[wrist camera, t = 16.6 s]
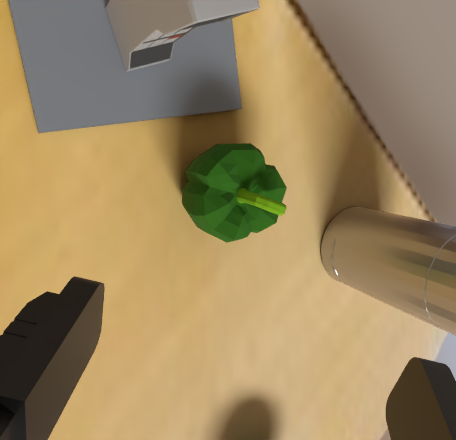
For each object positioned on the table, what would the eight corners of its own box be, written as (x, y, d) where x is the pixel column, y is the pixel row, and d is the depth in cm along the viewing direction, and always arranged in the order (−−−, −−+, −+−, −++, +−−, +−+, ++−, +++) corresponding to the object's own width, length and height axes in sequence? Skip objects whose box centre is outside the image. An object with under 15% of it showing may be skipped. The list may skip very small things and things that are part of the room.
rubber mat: (220, -53, 37) (223, -57, 36) (237, 109, 40) (241, 108, 40) (-6, -64, 30) (-7, -69, 29) (38, 133, 34) (38, 132, 33)
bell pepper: (149, 190, 38) (185, 206, 29) (207, 125, 39) (258, 121, 31) (211, 245, 42) (259, 274, 33) (262, 184, 43) (322, 196, 34)
